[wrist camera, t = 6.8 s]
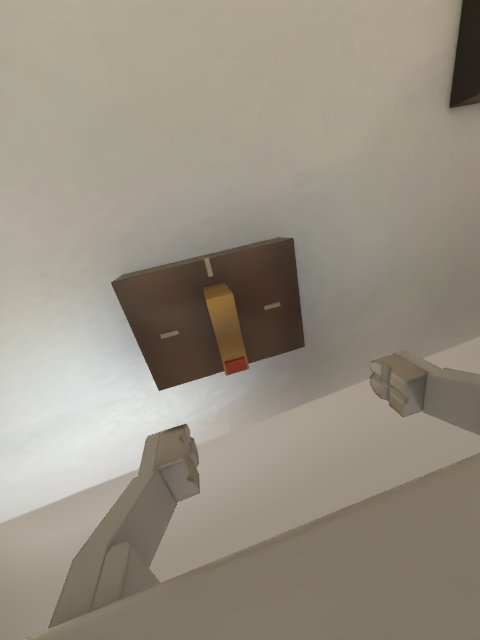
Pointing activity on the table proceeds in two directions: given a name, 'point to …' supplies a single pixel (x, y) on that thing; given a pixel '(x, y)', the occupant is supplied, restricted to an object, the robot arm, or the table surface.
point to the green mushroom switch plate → (467, 57)
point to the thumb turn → (226, 327)
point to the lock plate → (193, 316)
